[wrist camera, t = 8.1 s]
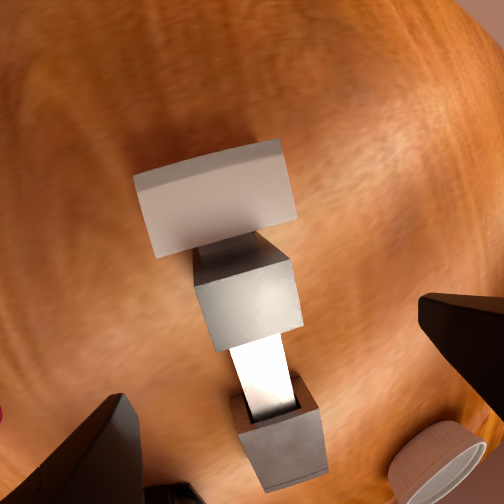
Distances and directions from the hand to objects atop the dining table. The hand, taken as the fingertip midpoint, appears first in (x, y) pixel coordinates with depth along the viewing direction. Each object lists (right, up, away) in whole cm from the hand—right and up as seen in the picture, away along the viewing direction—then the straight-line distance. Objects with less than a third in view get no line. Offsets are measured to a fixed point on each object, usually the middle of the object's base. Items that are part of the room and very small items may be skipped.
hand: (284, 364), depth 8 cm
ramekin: (+21, -23, +22) cm, 39 cm away
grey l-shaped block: (-2, +1, +12) cm, 12 cm away
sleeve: (+1, -11, +15) cm, 18 cm away
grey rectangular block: (-3, +6, +10) cm, 12 cm away
